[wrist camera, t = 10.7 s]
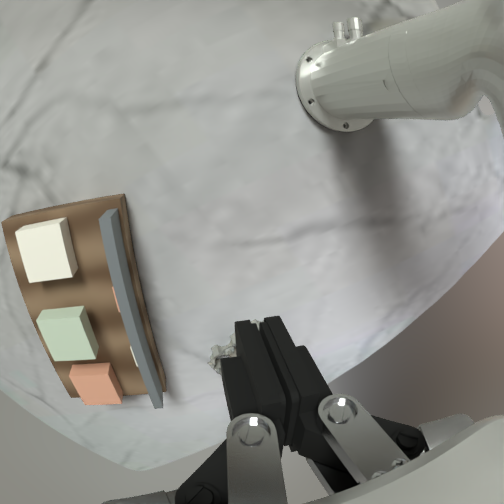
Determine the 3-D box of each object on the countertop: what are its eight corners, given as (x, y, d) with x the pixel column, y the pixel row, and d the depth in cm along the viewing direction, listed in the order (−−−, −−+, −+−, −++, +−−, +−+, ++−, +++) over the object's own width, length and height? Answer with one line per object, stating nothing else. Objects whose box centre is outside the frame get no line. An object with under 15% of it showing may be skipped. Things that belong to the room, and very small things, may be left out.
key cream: (23, 225, 26) (15, 232, 24) (66, 217, 27) (59, 223, 25) (36, 274, 28) (29, 282, 26) (78, 268, 30) (72, 277, 27)
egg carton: (227, 375, 45) (232, 393, 41) (201, 347, 42) (204, 366, 38) (285, 342, 45) (294, 359, 41) (264, 310, 42) (272, 327, 38)
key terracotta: (72, 364, 33) (68, 376, 31) (110, 362, 35) (108, 374, 33) (87, 393, 36) (85, 404, 34) (123, 391, 37) (122, 403, 35)
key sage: (42, 309, 28) (36, 320, 26) (84, 305, 30) (79, 316, 27) (59, 349, 31) (54, 361, 28) (98, 346, 32) (95, 359, 30)
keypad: (12, 215, 28) (-16, 232, 21) (124, 193, 31) (112, 206, 25) (74, 384, 38) (66, 416, 32) (165, 378, 42) (167, 411, 35)
